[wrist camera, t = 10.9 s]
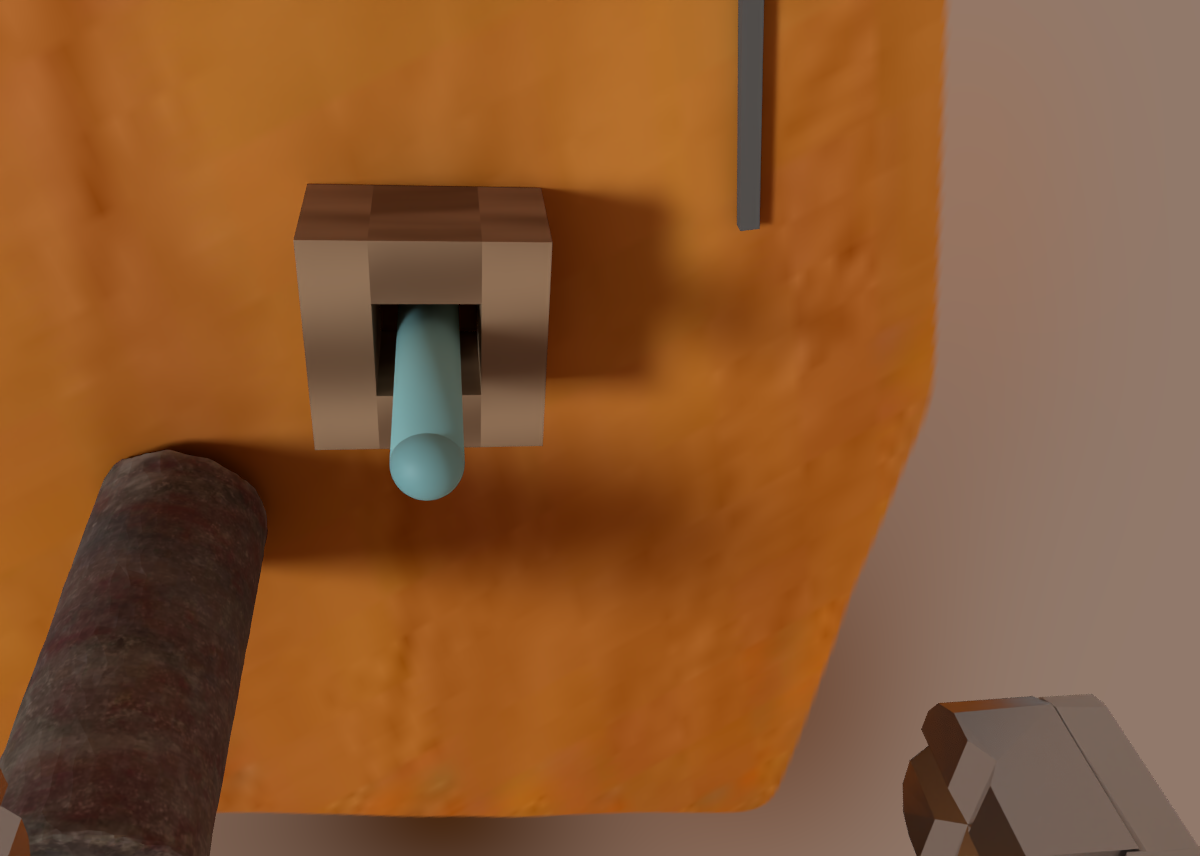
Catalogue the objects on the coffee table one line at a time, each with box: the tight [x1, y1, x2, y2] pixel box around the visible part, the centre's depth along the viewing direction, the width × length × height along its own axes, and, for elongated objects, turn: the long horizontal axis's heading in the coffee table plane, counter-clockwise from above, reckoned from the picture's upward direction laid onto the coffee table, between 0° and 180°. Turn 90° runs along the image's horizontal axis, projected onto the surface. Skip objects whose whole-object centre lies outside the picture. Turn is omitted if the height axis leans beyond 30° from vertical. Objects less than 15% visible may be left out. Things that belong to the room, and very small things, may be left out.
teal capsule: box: [390, 304, 465, 501], centre depth 39 cm, size 2×2×13 cm
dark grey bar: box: [737, 0, 764, 231], centre depth 39 cm, size 16×1×1 cm, turn 4°
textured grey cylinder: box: [0, 450, 268, 856], centre depth 41 cm, size 8×7×20 cm
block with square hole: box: [294, 184, 552, 450], centre depth 42 cm, size 9×9×5 cm
